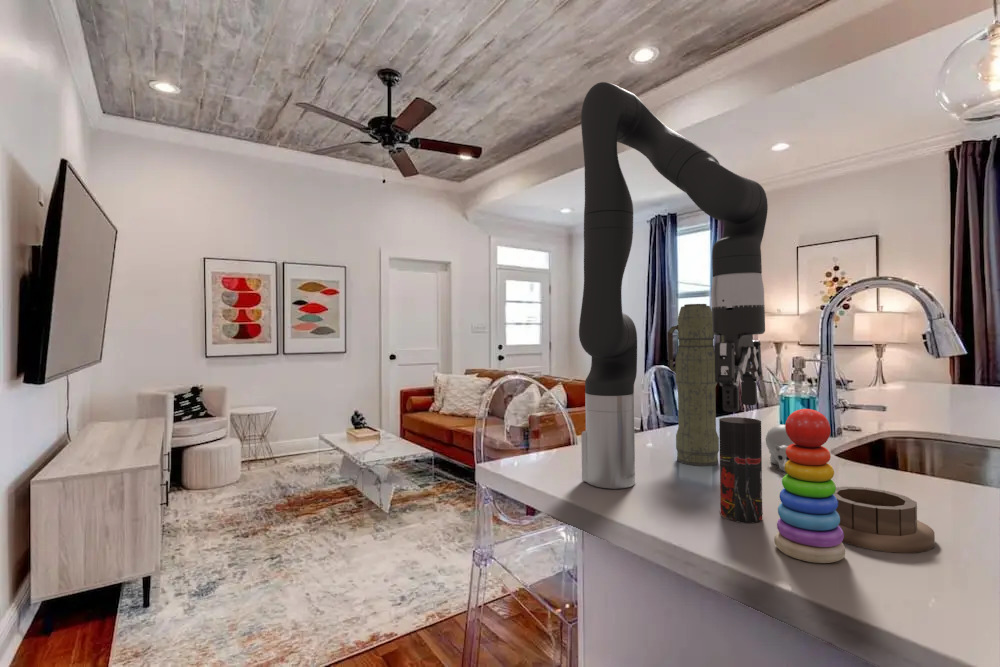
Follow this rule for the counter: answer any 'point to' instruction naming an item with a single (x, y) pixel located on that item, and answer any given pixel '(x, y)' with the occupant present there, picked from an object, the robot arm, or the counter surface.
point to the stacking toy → (809, 493)
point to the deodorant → (740, 469)
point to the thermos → (695, 386)
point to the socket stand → (881, 521)
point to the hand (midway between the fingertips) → (740, 408)
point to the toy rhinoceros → (778, 445)
